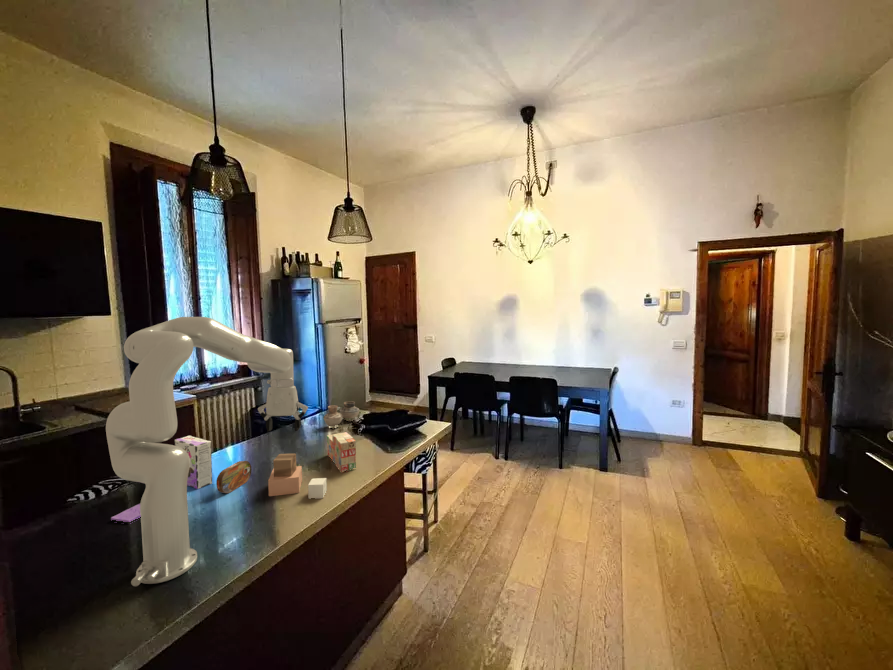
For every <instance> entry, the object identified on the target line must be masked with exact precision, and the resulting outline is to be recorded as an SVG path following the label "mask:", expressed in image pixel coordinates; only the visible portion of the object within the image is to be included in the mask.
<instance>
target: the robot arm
mask: <svg viewBox="0 0 893 670" xmlns="http://www.w3.org/2000/svg"><path fill="white" fill-rule="evenodd" d="M195 347H196V348H200V349H203V350H205V351H208V352H210V353H213V354H215V355H217V356H220V357H221V358H224V359H227V360H229V361H233V362H239V363H246V364H247V367H248V368H249V369H250V370H251V371H253V372H256V373H267V374H268V373H270V379H267V380H266V384H268V385H269V387H267V395H266V403H265V404H263V405H260V406H258V408H257V411H258V413H259V414H260V416H261V417H262V418H263V419H264V421H265V429H266V430H267V431H266V432H271V431H272V430H273V418H272V417H288V416H289V417H291V416H293V417H294V419H295V420H294V431H295V432H297V431H299V430H300V429H301V425H302V424H301V423H302V421H301V418H302V417H303V416H304V415H305V414H306V413H307V411H308V409H309V406H307V405H306V404H303V403H301V402H299V398H298V390H297V388H296V386H295V384H294V383H295V379H294V378H295V377H294V352H293V350H292V349H290V348H282V347H280V346H277V345H276V344H273V343H271V342H267V341H264V340H261V339H258V338H255V337H253V336H249V335H246V334H242V333H241V332H239V331H237V330H235V329H233V328H231V327H229V326H227V325H225V324H224V323H222V322H219V321H218V320H216V319H214V318H211V317H206V316H179V317H176V318H173V319H169V320H166V321H164V322H161V323H157V324H155V325H151V326H149V327H145V328H142V329H140V330H137V331H135V332H134V333H132V334H130V335H129V336H128V337H127V339H126V340H125V342H124V345H123V351H124V354H125V356H126V358H127V359H129V360H130V361H131V362H134V363H136V364H138V365H137V366H136V367H135V369H134V370H133V371H132V374H131V376H130V378H129V382H128V394H129V401H126V402H122V403H120V404H119V405H117V406H116V407H114V408H113V409H112V411H111V412H110V413H109V415H108V416H107V419H106V422H105V423H106V424H105V432H106V440H107V441H106V442H107V445H108V452H109V456H110V457H109V458H110V462H111V467H112V470H113V471H114V473H115V475H116V476H117V477H118V478H121V479H122V480H126V481H129V482H136V483H141V484H145V489H144V492H143V494H142V497H141V498H140V499H141V500H140V503H139V504H140V514H141V518H140V523H141V524H140V525H141V539H142V540H141V543H142V556H143V557H142V558H143V561H142V562H141V564H140V565H139V567H138V568H137V569H136V571H135V572H136V573H135V576H134V577H133V578H132V579H131V580H130V584H131V585H132V586H133V587H138V586H139V585H140V584H141V583H142V584H144V585H145V584H147V585H153V584H154V585H155V584H160V583H164V582H168V581H170V580H173V579H175V578H177V577H179V576H181V575H183V574H186V572H188V571H189V570H190V569H191V568H193V566H194V565H196V562H197V561H198V552H197V550H195V549H194V548H191V546H190V544H191V543H190V529H189V525H190V523H189V510H188V509H189V507H188V491H187V490H188V485H187V479H188V473H189V467H190V458H189V455H188V453H187V452H186V451H185V450H184V449H182V448H180V447H178V446H175V444H174V445H173V444H168V443H162V442H166V441H168V440H170V439H171V438H173V437H174V436H175V434H176V433H177V430H178V416H177V409H176V401H175V394H174V380H175V377H176V374H177V373H178V371H179V370H180V368H181V367H183V365H184V364H185V363H186V362H187V361H188V360H189V359H190V357H191V356H192V354H193V352H194V348H195ZM299 409H301V410H302V411H301V412H299Z"/></svg>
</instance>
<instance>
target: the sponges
mask: <svg viewBox="0 0 893 670" xmlns="http://www.w3.org/2000/svg"><path fill="white" fill-rule="evenodd" d="M140 517H141V514H140V503H138V504H136V505H134V506H132V507H130V508H127V509H125V510H123V511H122V512H120V513H118V514H116V515H114V516H111V517H110V520H111V521H112V520H116V521H123V522H131V521H133V520H135V519H138V518H140ZM140 519H141V518H140ZM138 520H139V519H138Z"/></svg>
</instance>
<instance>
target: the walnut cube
mask: <svg viewBox="0 0 893 670" xmlns="http://www.w3.org/2000/svg"><path fill="white" fill-rule="evenodd" d="M272 462H273V469H274V477H284V476H292V475H293V473H294V472H295V470H296V466H297V453H279V454H278V455H277V456H276V457H275V458H274V459H273V461H272Z"/></svg>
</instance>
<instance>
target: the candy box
mask: <svg viewBox="0 0 893 670" xmlns="http://www.w3.org/2000/svg"><path fill="white" fill-rule="evenodd" d="M174 446H178V447H180V448H182V449H184V450H185V451H186V452H187V453H188V455H189V458H190V467H189V473H188V479H187V487H191V488H193V489H197V490H199V489H202V488H204V487H207V486H210V485H212V484H213V469H212V466H213V465H212V464H213V463H212V441H211V440H206V439H204V438H201V437H196V436H192V435H187V436H182V437H180V438H176V439H174Z"/></svg>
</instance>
